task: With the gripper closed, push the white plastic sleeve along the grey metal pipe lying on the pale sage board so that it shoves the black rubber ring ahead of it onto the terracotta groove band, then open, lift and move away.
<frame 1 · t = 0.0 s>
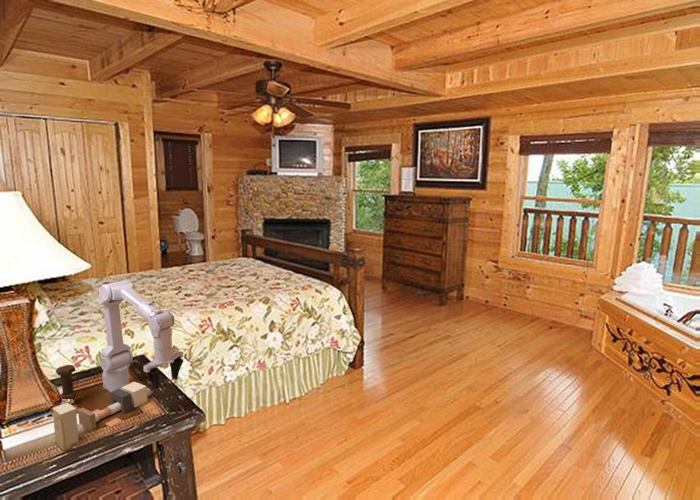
hand: (165, 383, 145), 10 cm above the nightstand, tool pointing down, fingers open, 7 cm apart
bolt: (69, 407, 148), on the nightstand
skincare box: (67, 444, 127), on the nightstand
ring: (121, 400, 145), point 4 cm above the nightstand, slide at 0.0 cm
sleeve: (134, 394, 149), point 4 cm above the nightstand, slide at 0.0 cm
pipe board: (118, 413, 144), on the nightstand
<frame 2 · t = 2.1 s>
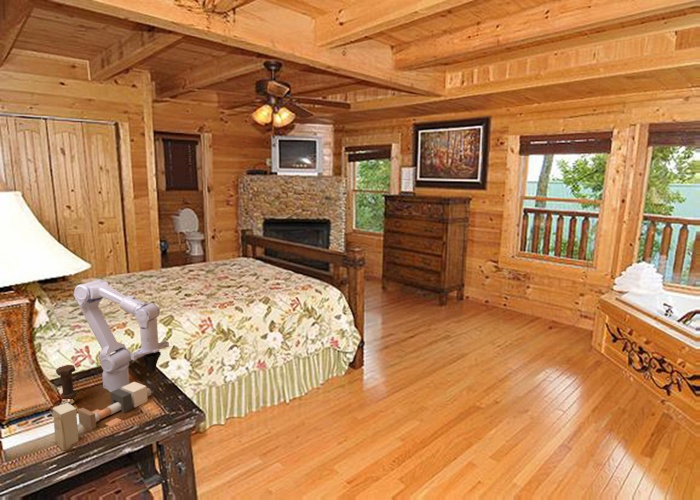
hand: (151, 371, 155), 10 cm above the nightstand, tool pointing down, fingers closed
nothing on the nightstand moved.
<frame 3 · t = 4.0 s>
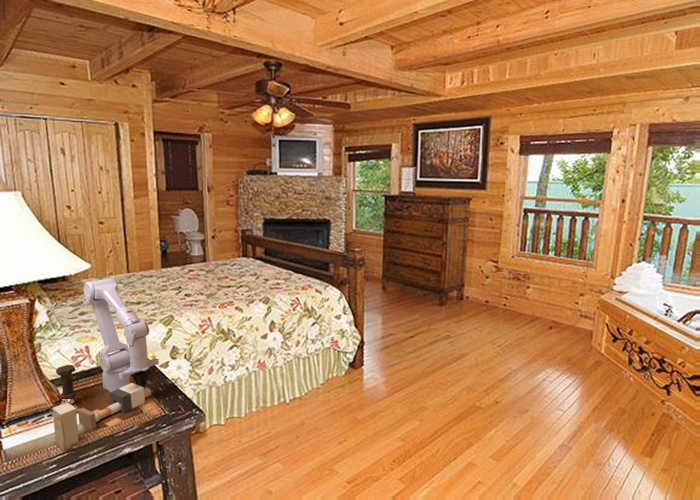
hand: (141, 389, 151), 5 cm above the nightstand, tool pointing down, fingers closed
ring: (121, 400, 145), point 4 cm above the nightstand, slide at 0.1 cm, touching sleeve
sleeve: (131, 395, 148), point 4 cm above the nightstand, slide at 1.1 cm, touching gripper, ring
everything else where it was.
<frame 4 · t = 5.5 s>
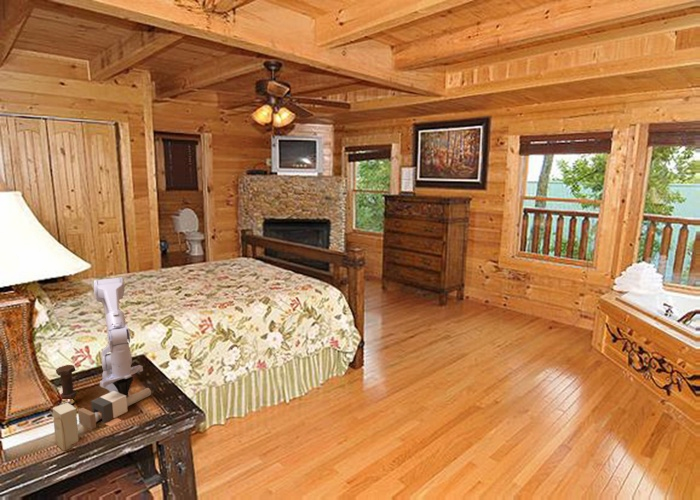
hand: (124, 397, 145), 5 cm above the nightstand, tool pointing down, fingers closed
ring: (102, 409, 139), point 4 cm above the nightstand, slide at 6.7 cm, touching sleeve
sleeve: (113, 404, 142), point 4 cm above the nightstand, slide at 7.7 cm, touching gripper, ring
everything else where it was.
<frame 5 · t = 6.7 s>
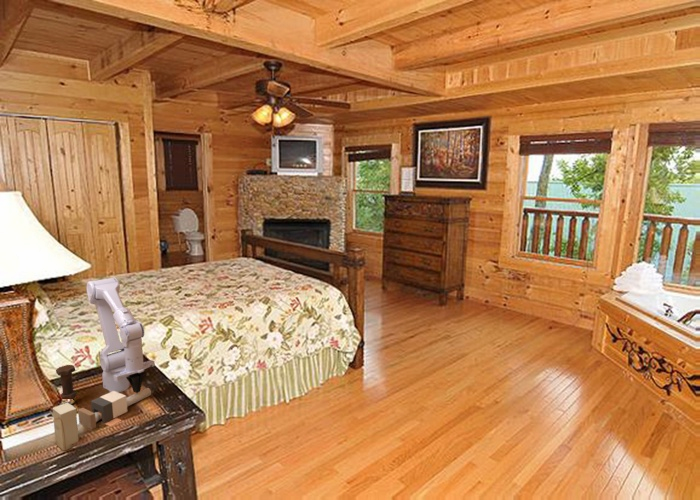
hand: (136, 391, 150), 5 cm above the nightstand, tool pointing down, fingers closed
sleeve: (113, 404, 142), point 4 cm above the nightstand, slide at 7.8 cm, touching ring
everything else where it was.
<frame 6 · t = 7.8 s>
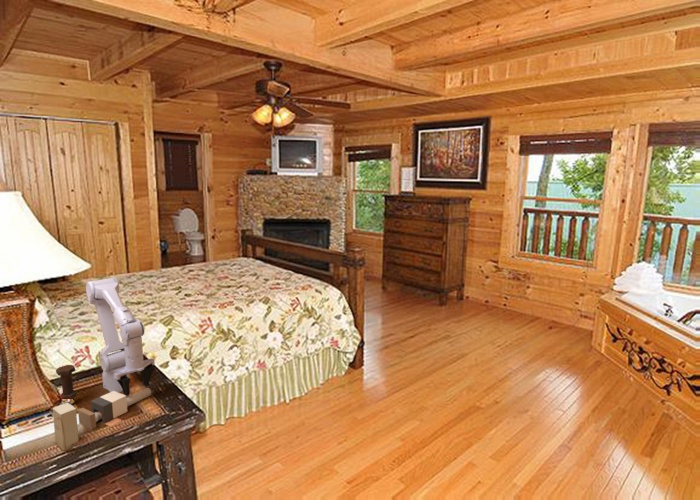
hand: (136, 389, 150), 5 cm above the nightstand, tool pointing down, fingers open, 7 cm apart
nothing on the nightstand moved.
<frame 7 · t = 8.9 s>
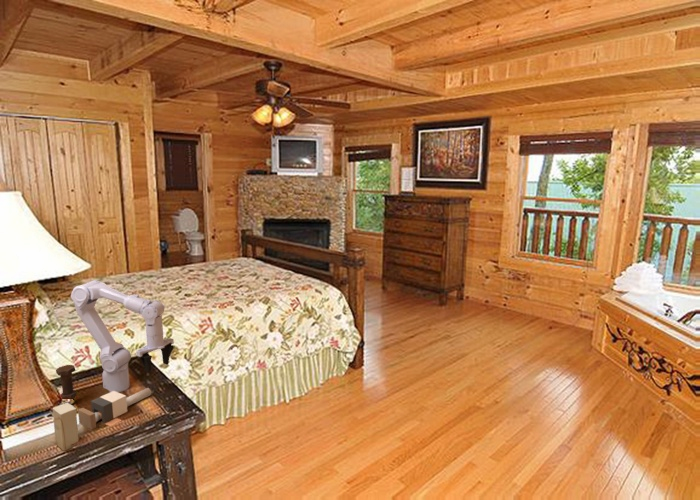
hand: (157, 367, 158), 10 cm above the nightstand, tool pointing down, fingers open, 7 cm apart
nothing on the nightstand moved.
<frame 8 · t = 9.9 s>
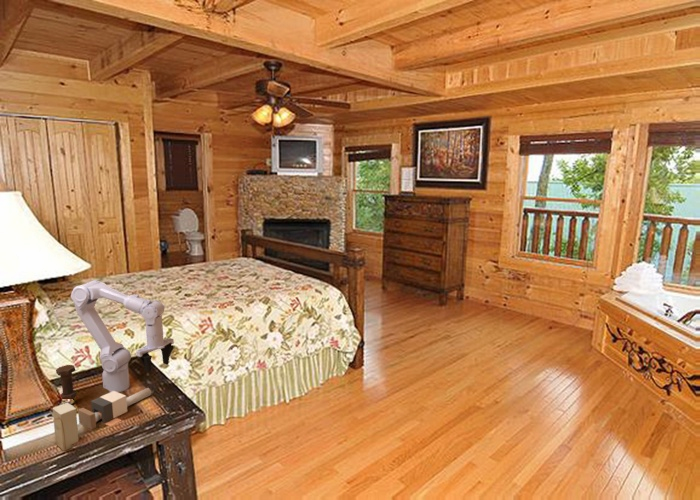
hand: (157, 367, 158), 10 cm above the nightstand, tool pointing down, fingers open, 7 cm apart
nothing on the nightstand moved.
at the end: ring slide at 6.8 cm; sleeve slide at 7.8 cm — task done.
